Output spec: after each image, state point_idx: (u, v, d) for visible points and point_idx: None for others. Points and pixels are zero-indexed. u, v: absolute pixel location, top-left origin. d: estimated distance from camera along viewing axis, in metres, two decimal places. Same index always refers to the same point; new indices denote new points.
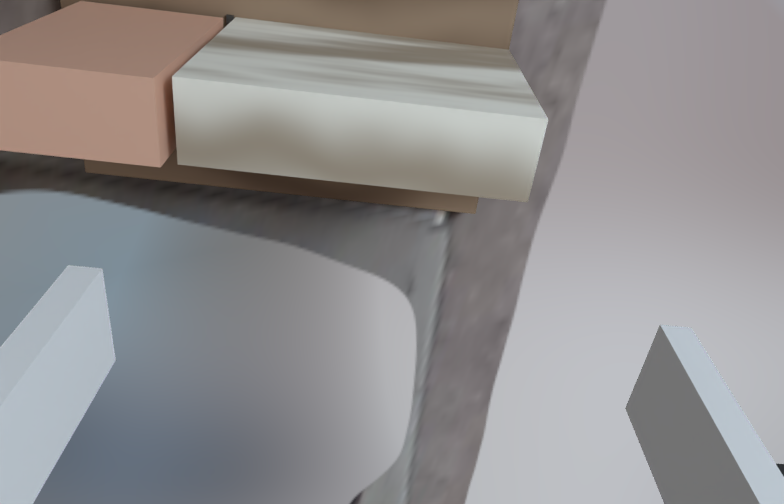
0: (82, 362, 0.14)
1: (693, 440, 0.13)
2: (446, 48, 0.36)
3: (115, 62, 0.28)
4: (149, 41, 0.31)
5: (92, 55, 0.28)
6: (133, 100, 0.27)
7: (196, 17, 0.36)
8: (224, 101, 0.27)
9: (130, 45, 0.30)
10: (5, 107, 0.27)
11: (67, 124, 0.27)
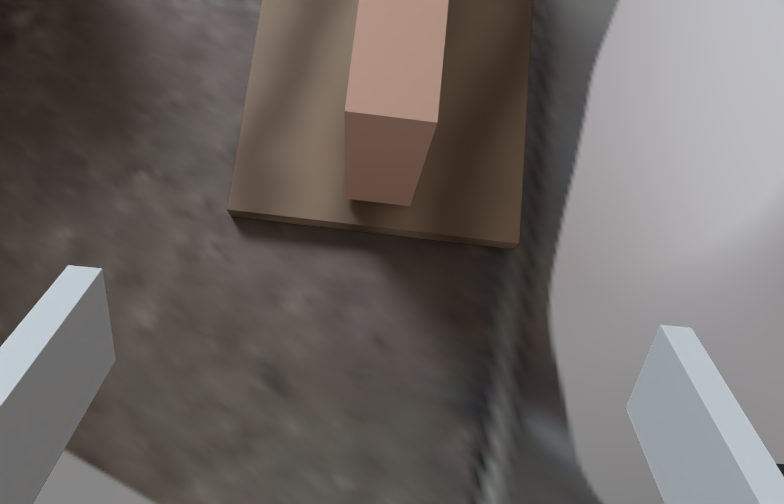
0: (82, 362, 0.14)
1: (694, 440, 0.13)
2: None
3: None
4: None
5: None
6: None
7: None
8: None
9: None
10: (395, 81, 0.28)
11: (411, 31, 0.28)
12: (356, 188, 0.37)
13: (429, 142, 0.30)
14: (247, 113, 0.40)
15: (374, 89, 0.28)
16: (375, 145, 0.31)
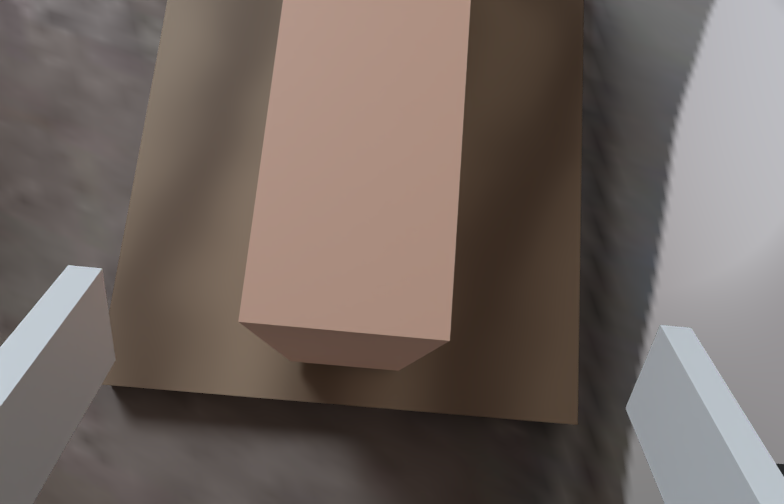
0: (82, 362, 0.14)
1: (694, 440, 0.13)
2: None
3: None
4: None
5: None
6: None
7: None
8: None
9: None
10: (354, 245, 0.12)
11: (388, 129, 0.13)
12: (305, 359, 0.22)
13: (431, 349, 0.14)
14: (134, 218, 0.25)
15: (306, 267, 0.12)
16: (322, 344, 0.15)
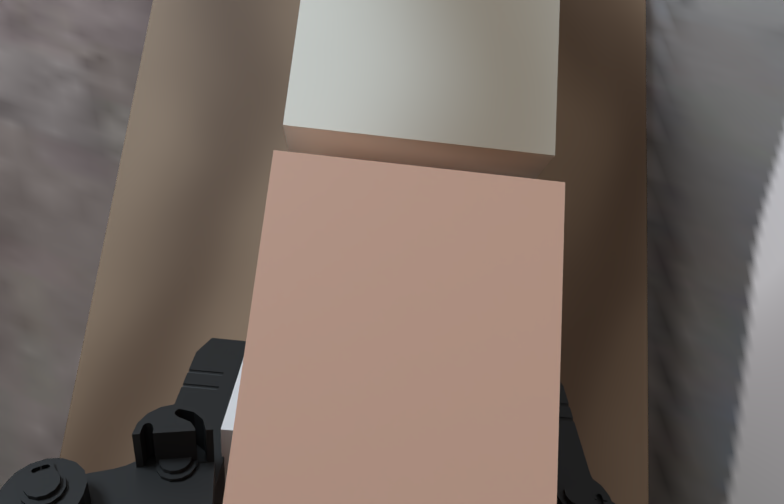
0: None
1: None
2: None
3: None
4: None
5: None
6: (345, 223, 0.08)
7: None
8: (356, 1, 0.10)
9: None
10: None
11: (433, 464, 0.08)
12: None
13: None
14: (86, 374, 0.20)
15: None
16: None
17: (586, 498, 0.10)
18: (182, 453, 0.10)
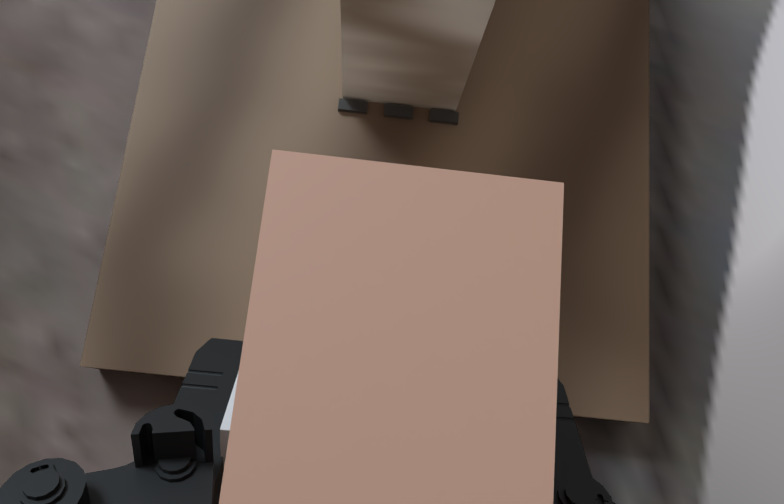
0: None
1: None
2: None
3: None
4: None
5: None
6: (343, 223, 0.08)
7: None
8: None
9: None
10: None
11: (430, 464, 0.08)
12: None
13: None
14: (128, 173, 0.21)
15: None
16: None
17: (587, 498, 0.10)
18: (181, 453, 0.10)
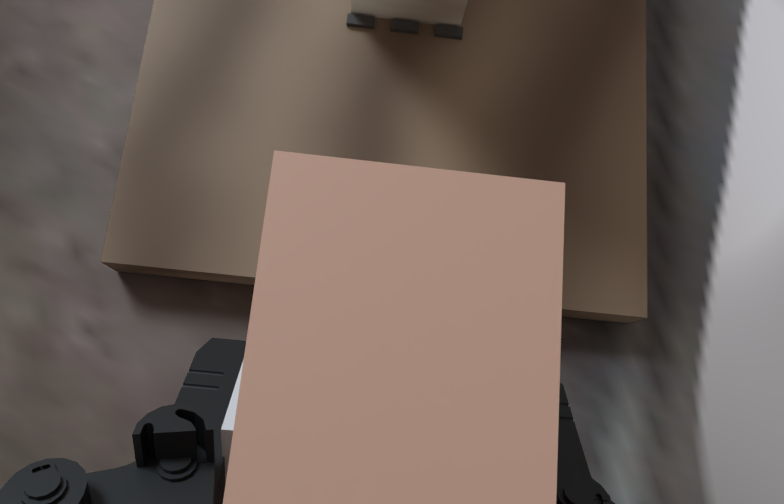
0: None
1: None
2: None
3: None
4: None
5: None
6: (346, 223, 0.08)
7: None
8: None
9: None
10: None
11: (433, 463, 0.08)
12: None
13: None
14: (145, 83, 0.22)
15: None
16: None
17: (586, 498, 0.10)
18: (183, 453, 0.10)
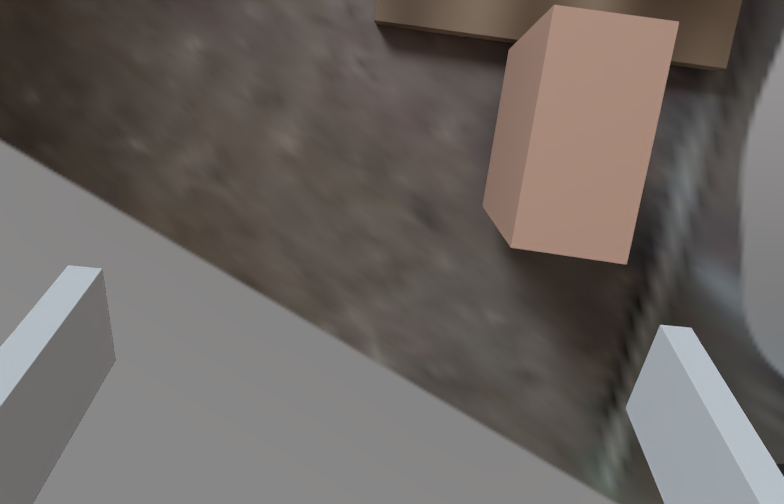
0: (82, 362, 0.14)
1: (694, 440, 0.13)
2: None
3: (534, 75, 0.22)
4: (520, 79, 0.26)
5: (525, 111, 0.23)
6: (582, 38, 0.21)
7: (505, 75, 0.32)
8: None
9: (521, 91, 0.25)
10: (578, 207, 0.22)
11: (606, 135, 0.21)
12: None
13: None
14: None
15: (549, 219, 0.22)
16: None
17: None
18: None
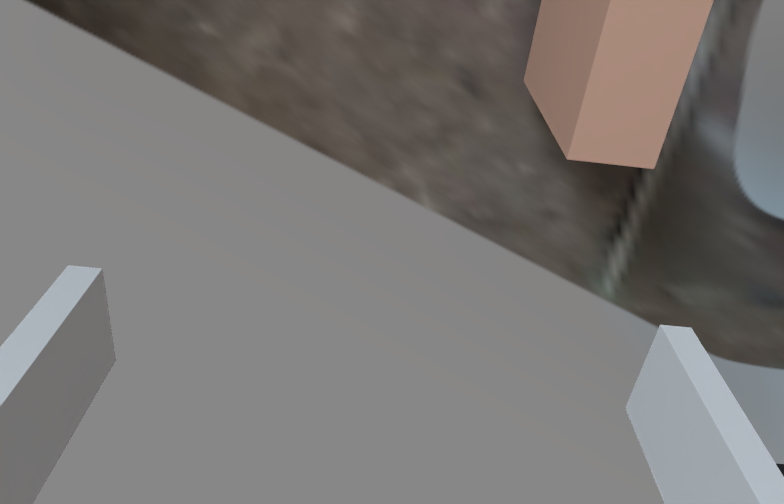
0: (82, 362, 0.14)
1: (694, 440, 0.13)
2: None
3: (594, 15, 0.27)
4: None
5: (582, 41, 0.28)
6: None
7: None
8: None
9: (576, 11, 0.30)
10: (621, 128, 0.28)
11: (650, 73, 0.27)
12: None
13: None
14: None
15: (599, 137, 0.28)
16: None
17: None
18: None
